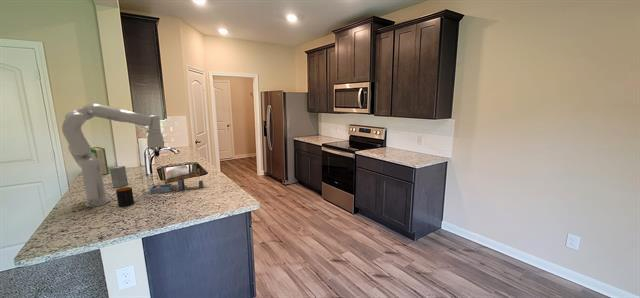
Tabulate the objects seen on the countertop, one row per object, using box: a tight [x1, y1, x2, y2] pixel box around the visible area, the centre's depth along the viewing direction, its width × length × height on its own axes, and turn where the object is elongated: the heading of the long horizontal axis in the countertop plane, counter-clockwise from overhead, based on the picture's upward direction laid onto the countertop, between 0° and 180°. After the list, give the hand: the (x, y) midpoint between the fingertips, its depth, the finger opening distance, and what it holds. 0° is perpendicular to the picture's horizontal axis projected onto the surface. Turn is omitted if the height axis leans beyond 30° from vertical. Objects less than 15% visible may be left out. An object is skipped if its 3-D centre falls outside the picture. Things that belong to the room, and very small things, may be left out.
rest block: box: [198, 180, 204, 189], centre depth 206 cm, size 5×2×4 cm, turn 17°
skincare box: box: [109, 165, 129, 189], centre depth 210 cm, size 8×7×16 cm
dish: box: [149, 183, 173, 195], centre depth 198 cm, size 9×13×4 cm
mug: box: [115, 186, 135, 208], centre depth 172 cm, size 8×12×10 cm
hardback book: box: [91, 146, 110, 176], centre depth 248 cm, size 18×7×24 cm, turn 55°
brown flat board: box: [163, 168, 201, 184], centre depth 206 cm, size 24×17×4 cm
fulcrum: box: [175, 179, 189, 193], centre depth 202 cm, size 6×12×8 cm, turn 17°
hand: (157, 156), depth 202 cm, fingers closed
